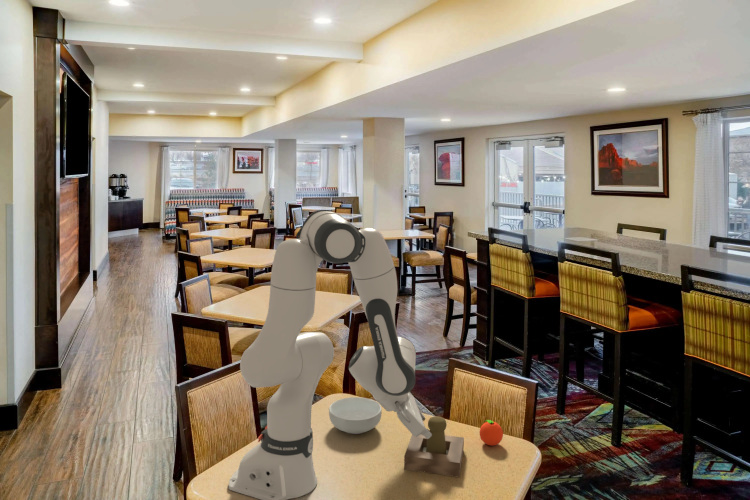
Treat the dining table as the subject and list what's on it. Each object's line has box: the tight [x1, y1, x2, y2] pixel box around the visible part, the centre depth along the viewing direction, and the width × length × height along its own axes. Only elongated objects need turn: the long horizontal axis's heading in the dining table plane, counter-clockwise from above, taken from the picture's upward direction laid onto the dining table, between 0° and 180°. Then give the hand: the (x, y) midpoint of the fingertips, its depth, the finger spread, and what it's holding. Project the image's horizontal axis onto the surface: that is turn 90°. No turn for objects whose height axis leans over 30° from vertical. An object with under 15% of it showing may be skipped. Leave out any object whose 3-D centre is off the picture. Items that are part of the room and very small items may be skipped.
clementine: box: [479, 419, 504, 447], centre depth 164 cm, size 8×7×7 cm
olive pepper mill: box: [426, 415, 447, 455], centre depth 153 cm, size 6×6×11 cm
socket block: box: [403, 433, 465, 478], centre depth 154 cm, size 15×15×4 cm
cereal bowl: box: [328, 396, 383, 435], centre depth 172 cm, size 17×17×7 cm
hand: (426, 427), depth 153 cm, fingers open, 8 cm apart
